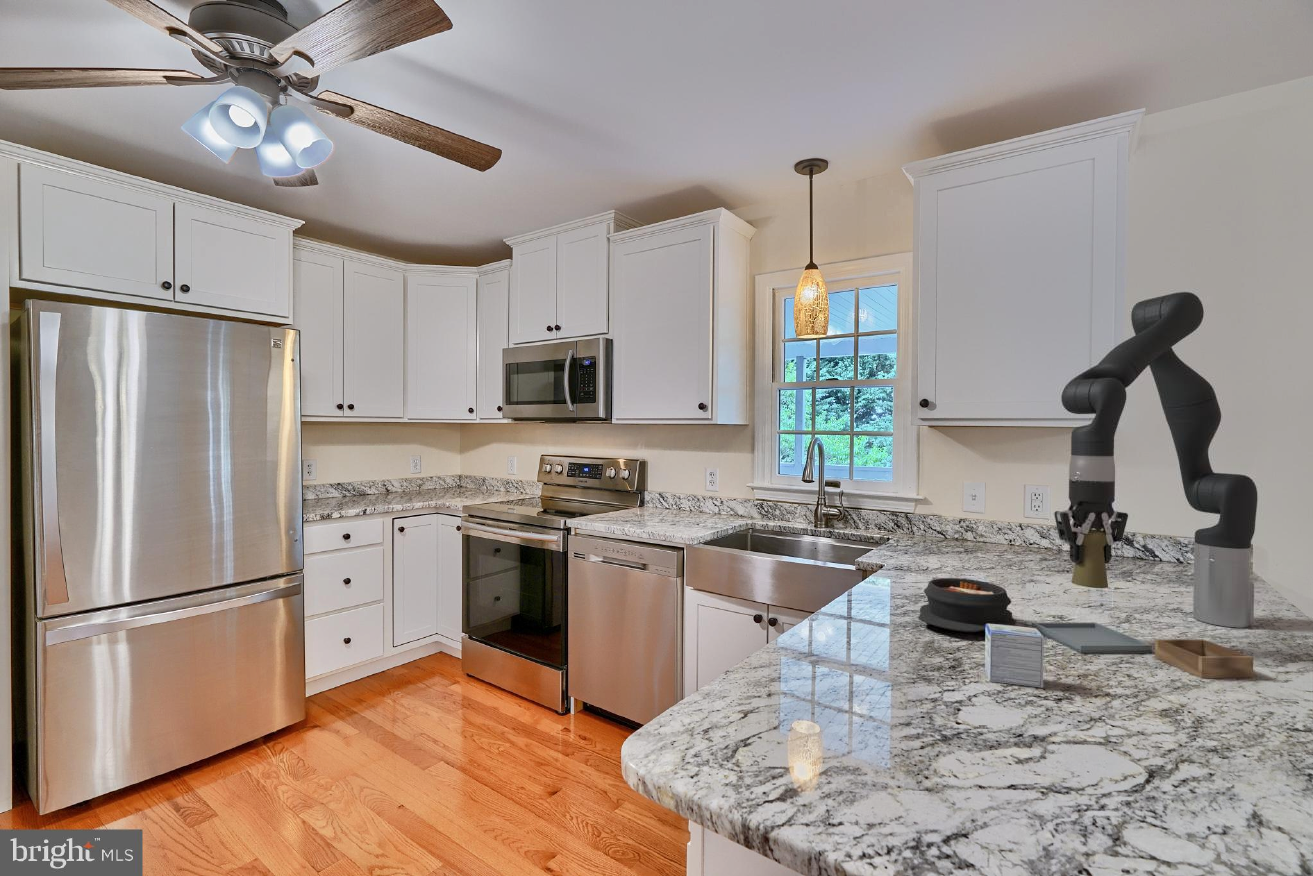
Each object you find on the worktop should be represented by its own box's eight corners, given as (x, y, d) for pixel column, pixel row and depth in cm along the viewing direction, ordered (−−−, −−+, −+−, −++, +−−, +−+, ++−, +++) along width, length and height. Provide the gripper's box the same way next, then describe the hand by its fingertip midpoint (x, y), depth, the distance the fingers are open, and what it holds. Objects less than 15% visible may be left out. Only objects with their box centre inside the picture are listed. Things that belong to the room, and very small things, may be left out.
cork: (1114, 589, 118) (1116, 533, 118) (1080, 587, 119) (1081, 531, 119) (1098, 581, 124) (1100, 528, 124) (1065, 579, 125) (1067, 526, 125)
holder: (1202, 657, 113) (1202, 639, 113) (1252, 677, 104) (1253, 657, 104) (1154, 658, 112) (1155, 639, 112) (1201, 678, 103) (1201, 657, 103)
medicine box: (1036, 678, 102) (1037, 627, 102) (1043, 689, 98) (1044, 636, 98) (984, 672, 105) (984, 622, 105) (989, 682, 101) (990, 630, 100)
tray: (1095, 629, 129) (1095, 622, 129) (1151, 653, 115) (1152, 645, 115) (1031, 629, 128) (1031, 622, 128) (1080, 653, 114) (1080, 645, 114)
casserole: (947, 604, 147) (948, 570, 147) (1033, 623, 133) (1034, 585, 133) (896, 624, 131) (897, 586, 131) (988, 648, 117) (989, 605, 116)
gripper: (1111, 477, 125) (1109, 559, 126) (1044, 476, 125) (1042, 558, 125) (1141, 480, 118) (1140, 567, 118) (1070, 479, 117) (1069, 567, 117)
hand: (1090, 562), depth 122 cm, fingers closed on cork, 5 cm apart
